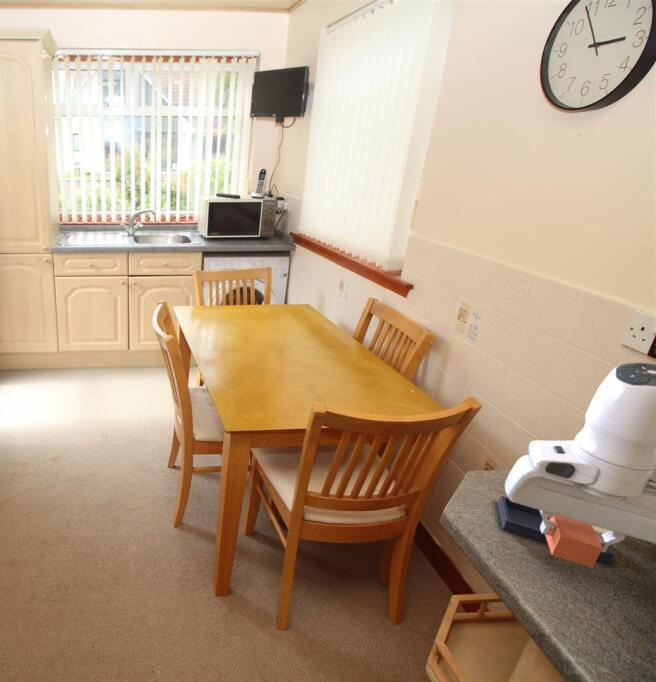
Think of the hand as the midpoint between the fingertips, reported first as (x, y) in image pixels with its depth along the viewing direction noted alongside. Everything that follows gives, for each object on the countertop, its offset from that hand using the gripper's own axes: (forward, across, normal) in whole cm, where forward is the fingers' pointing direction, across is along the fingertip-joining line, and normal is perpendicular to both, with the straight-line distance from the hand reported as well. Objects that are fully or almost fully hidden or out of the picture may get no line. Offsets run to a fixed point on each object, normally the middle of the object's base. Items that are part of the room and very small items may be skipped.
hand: (570, 540), depth 75 cm
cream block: (+5, -4, -9) cm, 11 cm away
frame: (+6, -1, -9) cm, 11 cm away
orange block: (+2, 0, 0) cm, 2 cm away
